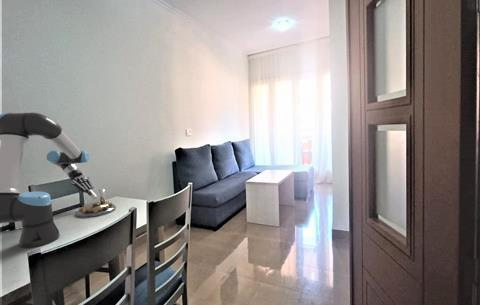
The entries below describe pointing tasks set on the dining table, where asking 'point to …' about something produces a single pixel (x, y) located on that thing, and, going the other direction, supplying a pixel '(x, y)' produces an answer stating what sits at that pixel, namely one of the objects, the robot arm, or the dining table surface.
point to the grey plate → (87, 215)
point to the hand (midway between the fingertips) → (95, 197)
